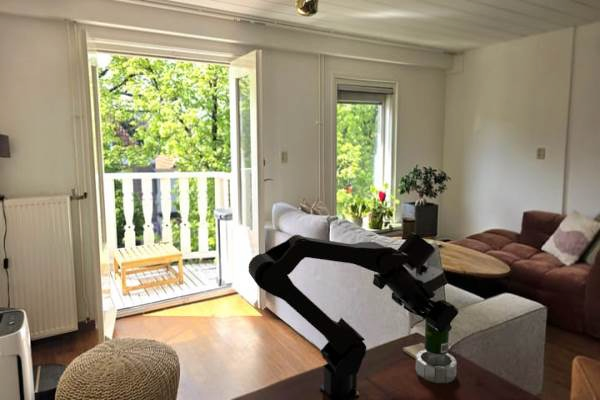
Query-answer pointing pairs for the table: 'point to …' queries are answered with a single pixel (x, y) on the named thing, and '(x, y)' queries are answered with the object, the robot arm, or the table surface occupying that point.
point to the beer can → (435, 340)
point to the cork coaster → (414, 349)
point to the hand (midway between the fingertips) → (442, 324)
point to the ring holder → (436, 367)
